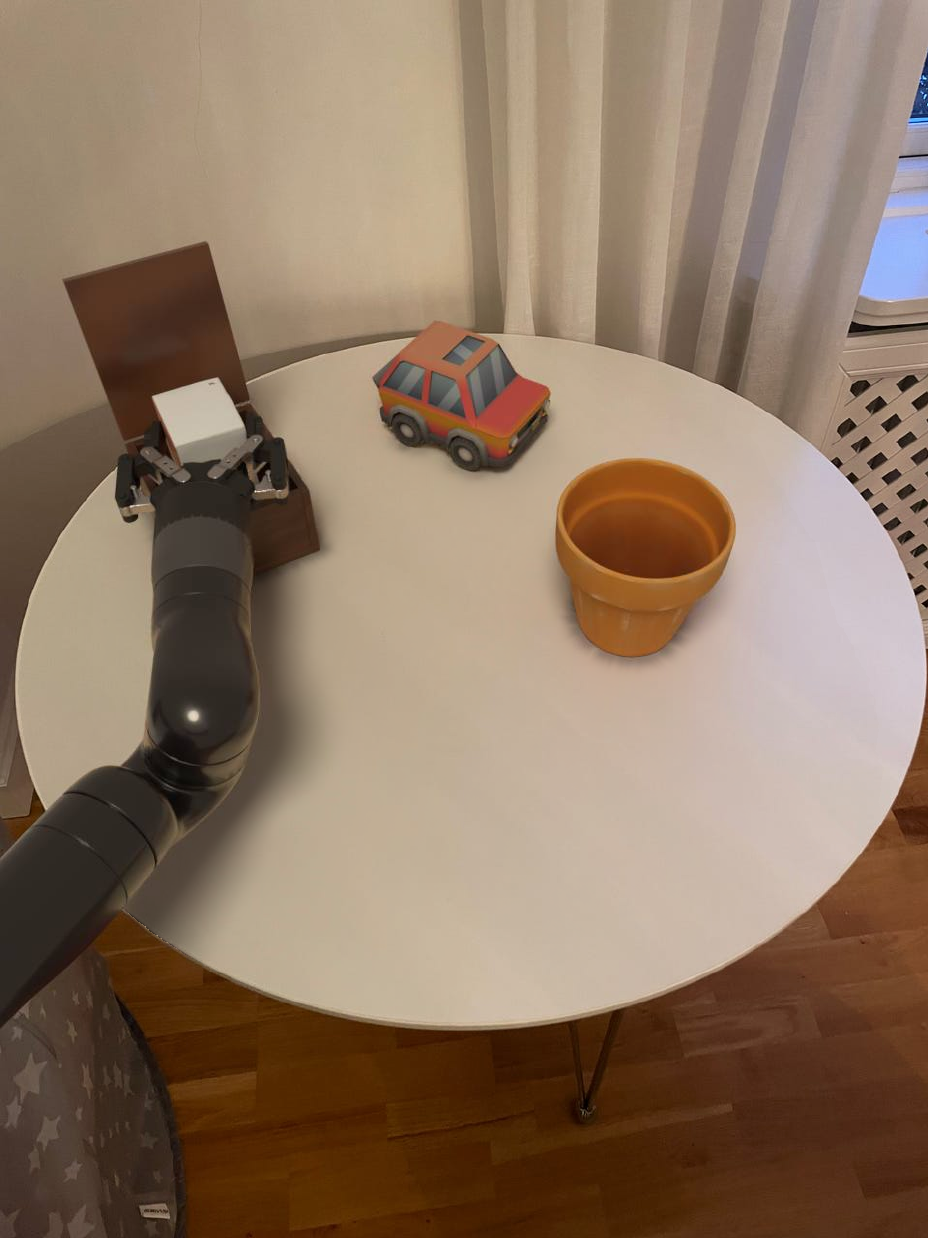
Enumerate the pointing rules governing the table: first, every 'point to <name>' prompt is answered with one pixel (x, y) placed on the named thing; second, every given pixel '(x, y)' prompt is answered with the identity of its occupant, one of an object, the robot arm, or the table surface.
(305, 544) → the case
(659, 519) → the flower pot
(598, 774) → the table surface
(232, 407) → the small box
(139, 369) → the lid
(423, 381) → the toy car
